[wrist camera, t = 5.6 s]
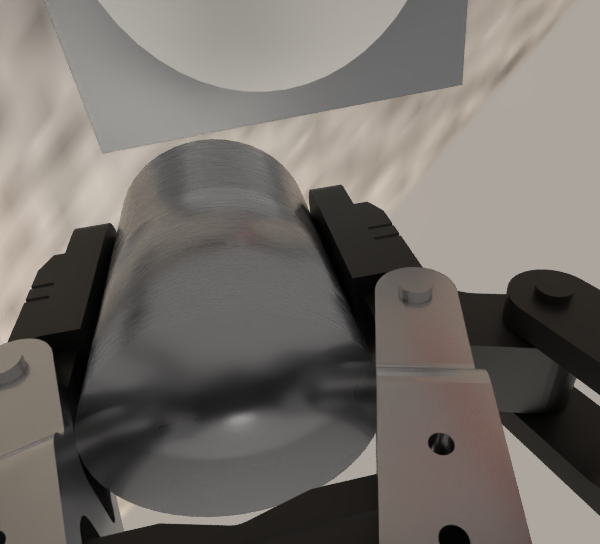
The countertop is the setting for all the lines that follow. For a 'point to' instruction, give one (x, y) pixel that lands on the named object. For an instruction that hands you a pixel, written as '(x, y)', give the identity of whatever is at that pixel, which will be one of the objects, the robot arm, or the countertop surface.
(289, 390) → the cylinder
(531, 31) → the countertop surface
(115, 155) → the countertop surface
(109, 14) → the scale
